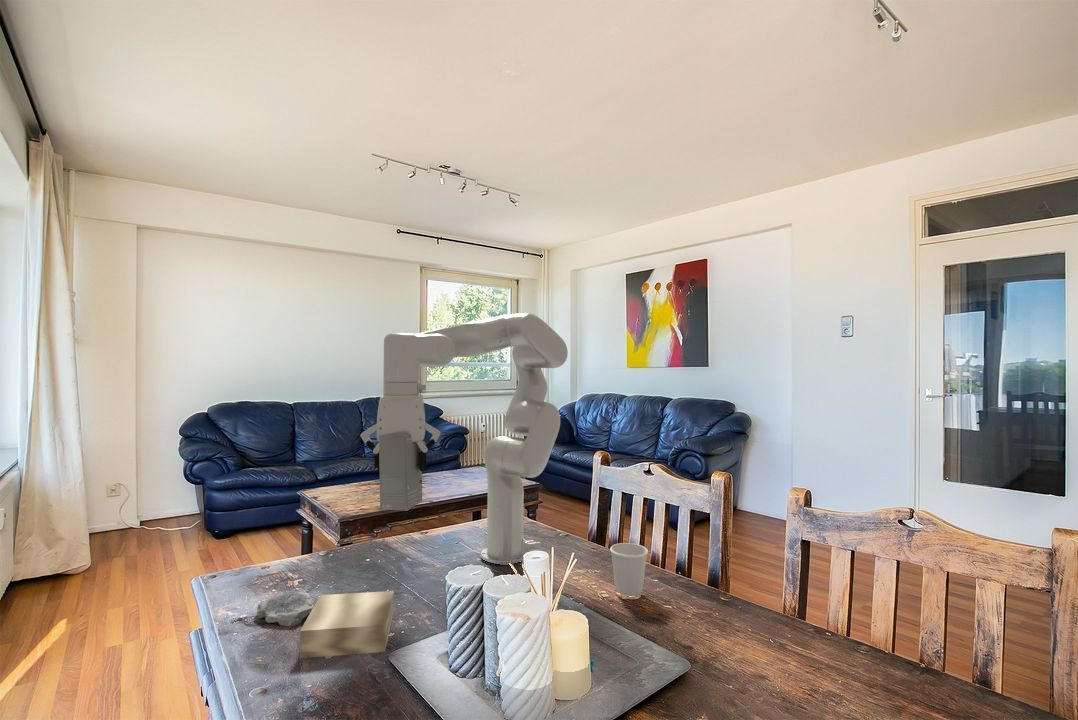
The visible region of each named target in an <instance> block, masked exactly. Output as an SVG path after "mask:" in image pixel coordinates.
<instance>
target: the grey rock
mask: <svg viewBox="0 0 1078 720" xmlns="http://www.w3.org/2000/svg"><path fill="white" fill-rule="evenodd" d="M314 605H315V604H314V600H313V599H312V598H311V595H310V593H309V592H303V591H299V592H297V591H294V592H287V593H286V592H285V593H281V594H274V595H272V596H271V597H269V598H266V599H265V600H263V601H262V600H261V601H260V602H259V603H258V604H257V607H256V615H257V618H258V620H261V619H263V618H264V619H265V622H266V623H268V624H270V623H273V624H274V623H278V624H279V626H284V627H289V626H290V627H294V626H297V625H300V624H301V623H302V621H303V619H304V618H305V617H308V616H309V614H310V613H311V611H312V609H313V607H314Z"/></svg>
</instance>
